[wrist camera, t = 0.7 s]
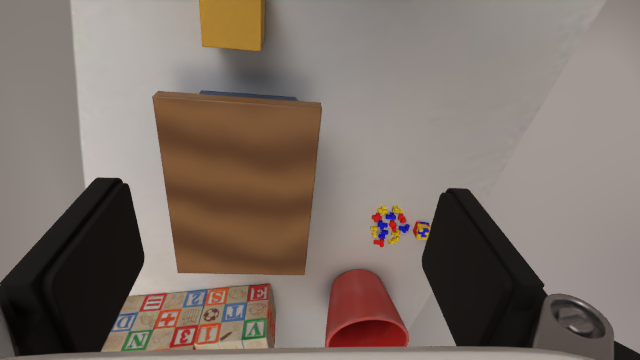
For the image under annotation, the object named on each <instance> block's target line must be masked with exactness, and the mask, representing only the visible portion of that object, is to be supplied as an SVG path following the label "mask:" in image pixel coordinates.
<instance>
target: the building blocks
mask: <svg viewBox="0 0 640 360" xmlns="http://www.w3.org/2000/svg"><path fill="white" fill-rule="evenodd" d="M377 211H378V213H376V215H373V216H372V219H374V222H378V220H379V222H378V227H380V229H381V230H382V232H381V234H379V235H378V237H379V238H381V239H380V241H379V240H374V244H377V245H380V247H383V246H384V243H383V242H384V239H385V235H388V231H387V230H383V229H384V227H386V228H387V226H388V224H387V223H383V221H382V216H380V213H381V214H382V215H385V213H387V212H388V210H387V209H386V207H385V206H382V208H378V210H377ZM392 211H393V212H394V213H402V212H403V210H402V209H398V207H397V206H394V207H393V210H392ZM393 212H390V215H387V214H386V219H394V220H395V219H396V216H395V215H394V213H393ZM394 220H391V221H390V224H389V226H390V227H391V228H392V232H391V235H395V236H396V238H392V240H389V241H388V243H389V244H395V242H398V241H399V239H400V237H399V236H397V235H399V234H400V232H399V230H401V231H402V232H403V233H406V231H408V229H409V227H410V226H409V225H408V224H406V226H405V227H403V226H399V228H398V229H396V223H394ZM398 220H400V223H405V222H406V219H405V217H404V216H403V214H399V216H398ZM430 228H431V227H430V225H429V223H425V222H416V225H415V227H414V230H413V232H414V234H415V237H416V239H422V240H427V239H428V235H429V232H430ZM377 229H378V228H377V226H371V230H373V231H372V235H373V237H376V236H377V234H376V232H377Z"/></svg>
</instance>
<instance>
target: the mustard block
mask: <svg viewBox="0 0 640 360" xmlns="http://www.w3.org/2000/svg"><path fill="white" fill-rule="evenodd" d="M199 6H200V21H201V35H202V46H203V47H214V48H226V49H237V50H249V51H261V49H262V46H263V43H264V33H265V0H199Z"/></svg>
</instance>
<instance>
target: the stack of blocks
mask: <svg viewBox="0 0 640 360" xmlns="http://www.w3.org/2000/svg"><path fill="white" fill-rule="evenodd" d="M275 317H276V310H275V305H274V300H273V295H272V290H271V286H270V284H264V285H255V286H239V287H230V288H218V289H209V290H200V291H189V292H180V293H169V294H154V295H140V296H130V297H127V299H126V301H125V303H124V305H123V307H122V309H121V311H120V314H119V316H118V318H117V320H116V322H115V324H114V326H113V328H112V330H111V332H110V334H109V336H108V338H107V340H106V342H105V344H104V346H103V348H102V350H101V352H115V351H153V350H202V349H257V348H274V344H275Z"/></svg>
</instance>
